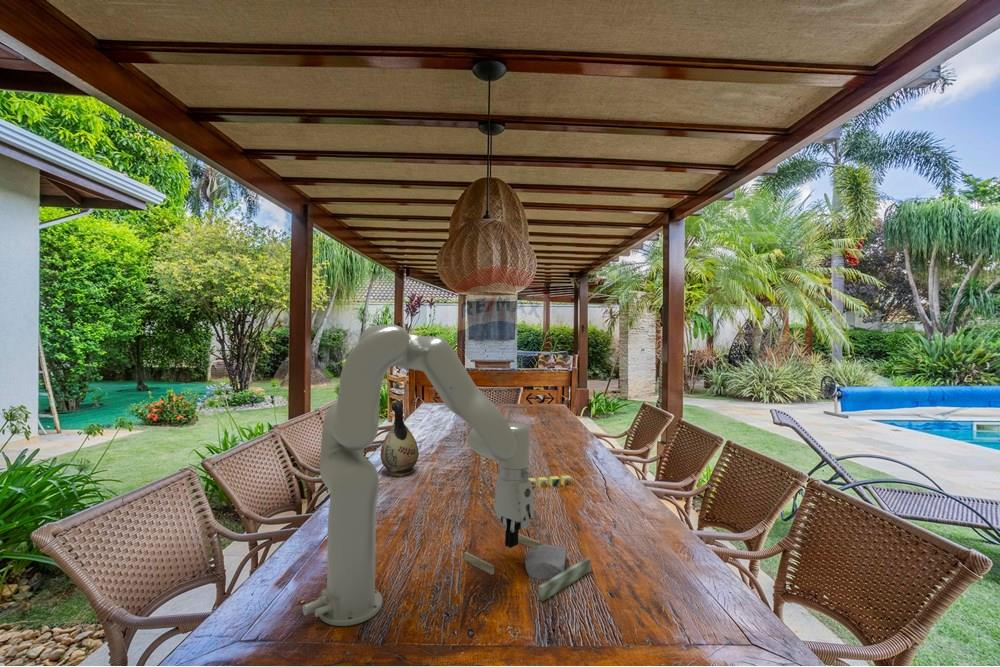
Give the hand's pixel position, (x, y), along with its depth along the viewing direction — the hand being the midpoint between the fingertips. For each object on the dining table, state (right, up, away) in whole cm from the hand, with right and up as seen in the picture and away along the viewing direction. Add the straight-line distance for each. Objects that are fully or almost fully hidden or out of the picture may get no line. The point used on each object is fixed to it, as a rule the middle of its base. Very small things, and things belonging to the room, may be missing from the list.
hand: (511, 545), depth 118 cm
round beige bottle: (-44, -4, +73) cm, 85 cm away
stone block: (+8, -5, -3) cm, 10 cm away
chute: (+3, -4, -2) cm, 5 cm away
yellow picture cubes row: (+15, -5, +57) cm, 59 cm away
